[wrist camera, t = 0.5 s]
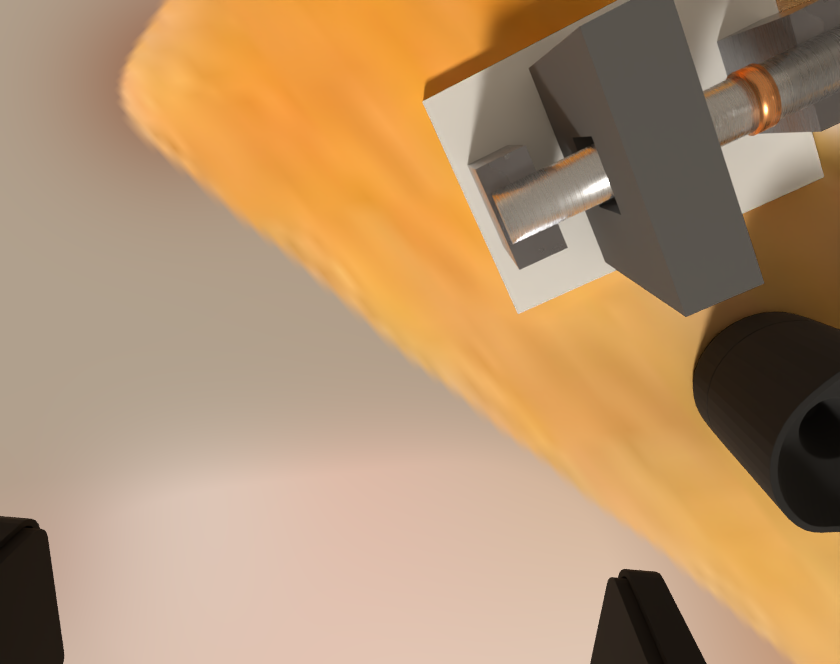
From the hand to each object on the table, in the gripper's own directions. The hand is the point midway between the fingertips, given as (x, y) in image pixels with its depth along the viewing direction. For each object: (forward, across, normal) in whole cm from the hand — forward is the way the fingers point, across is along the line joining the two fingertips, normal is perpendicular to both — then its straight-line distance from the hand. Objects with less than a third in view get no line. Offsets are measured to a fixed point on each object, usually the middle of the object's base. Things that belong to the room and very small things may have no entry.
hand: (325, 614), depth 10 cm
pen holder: (+27, -22, +5) cm, 35 cm away
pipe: (+27, -11, -8) cm, 30 cm away
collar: (+25, -9, -8) cm, 28 cm away
